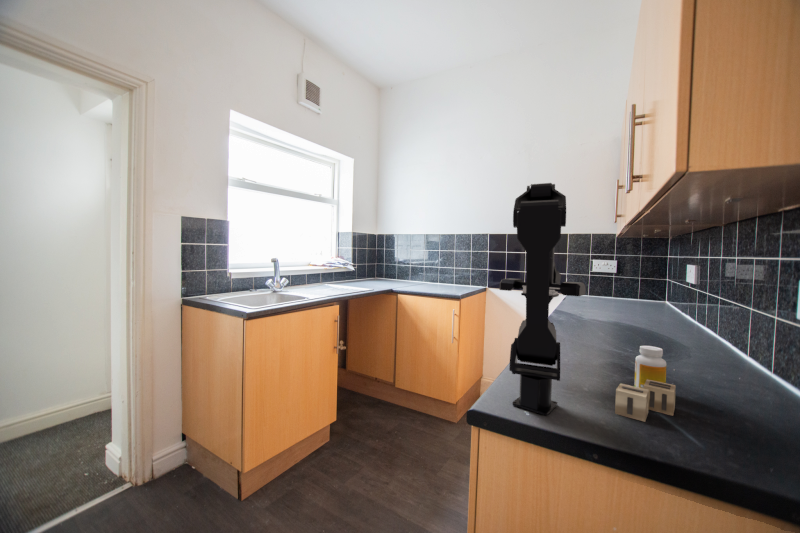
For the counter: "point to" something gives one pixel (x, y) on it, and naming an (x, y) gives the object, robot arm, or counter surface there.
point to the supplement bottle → (649, 366)
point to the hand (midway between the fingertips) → (539, 321)
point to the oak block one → (632, 402)
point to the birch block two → (661, 396)
